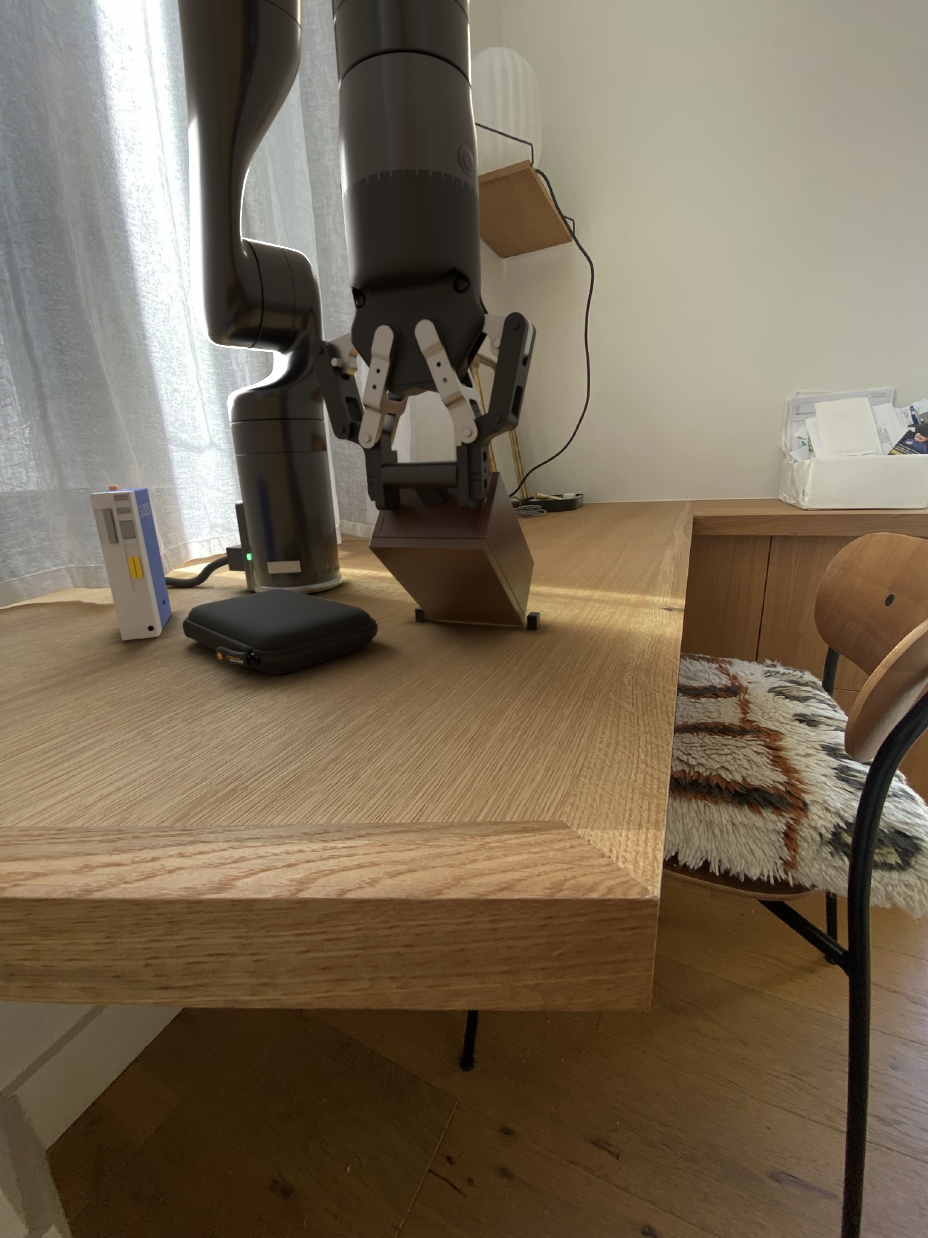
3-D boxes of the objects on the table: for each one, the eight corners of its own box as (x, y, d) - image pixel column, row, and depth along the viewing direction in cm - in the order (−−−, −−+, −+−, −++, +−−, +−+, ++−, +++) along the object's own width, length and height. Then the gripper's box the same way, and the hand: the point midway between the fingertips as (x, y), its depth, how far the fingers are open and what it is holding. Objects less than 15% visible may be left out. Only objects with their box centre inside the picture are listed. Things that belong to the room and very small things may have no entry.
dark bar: (415, 622, 47) (414, 608, 46) (421, 618, 48) (420, 605, 47) (536, 631, 43) (536, 616, 43) (540, 626, 44) (540, 612, 44)
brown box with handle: (468, 520, 31) (486, 436, 33) (344, 520, 34) (368, 443, 36) (523, 626, 44) (534, 562, 46) (431, 620, 47) (445, 559, 49)
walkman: (139, 617, 52) (111, 485, 49) (172, 613, 53) (146, 483, 49) (120, 641, 45) (85, 489, 41) (158, 637, 46) (128, 487, 42)
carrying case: (163, 646, 43) (253, 694, 33) (155, 608, 42) (245, 646, 32) (287, 615, 50) (391, 647, 41) (283, 582, 50) (388, 607, 40)
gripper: (553, 199, 32) (552, 503, 36) (337, 242, 37) (360, 505, 41) (519, 129, 25) (522, 514, 29) (260, 194, 30) (297, 515, 34)
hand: (427, 507), depth 35 cm, fingers closed on brown box with handle, 5 cm apart
